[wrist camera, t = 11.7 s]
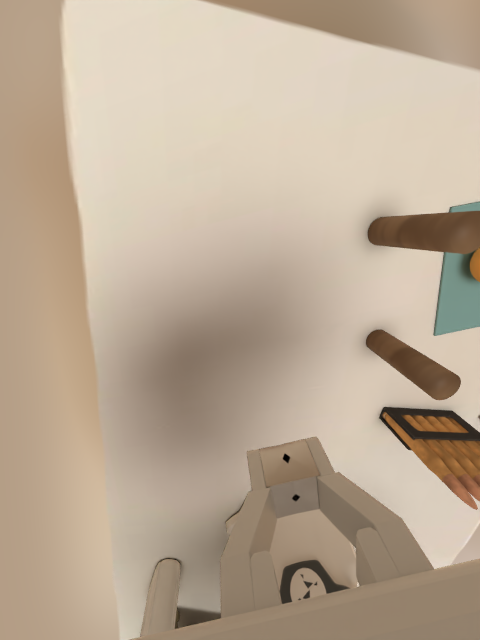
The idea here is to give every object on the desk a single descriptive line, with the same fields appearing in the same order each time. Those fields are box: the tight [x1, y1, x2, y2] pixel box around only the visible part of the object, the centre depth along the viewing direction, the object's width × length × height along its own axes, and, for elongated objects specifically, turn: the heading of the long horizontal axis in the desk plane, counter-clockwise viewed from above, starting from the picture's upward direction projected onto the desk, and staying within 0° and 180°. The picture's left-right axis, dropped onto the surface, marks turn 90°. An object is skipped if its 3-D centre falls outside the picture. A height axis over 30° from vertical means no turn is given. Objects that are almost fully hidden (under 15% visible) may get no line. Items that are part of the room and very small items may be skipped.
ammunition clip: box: [380, 407, 480, 510], centre depth 28 cm, size 11×2×12 cm, turn 82°
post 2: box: [366, 330, 461, 400], centre depth 24 cm, size 3×3×9 cm
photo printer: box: [140, 559, 180, 637], centre depth 35 cm, size 10×4×12 cm, turn 163°
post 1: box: [368, 211, 480, 254], centre depth 20 cm, size 3×3×9 cm
